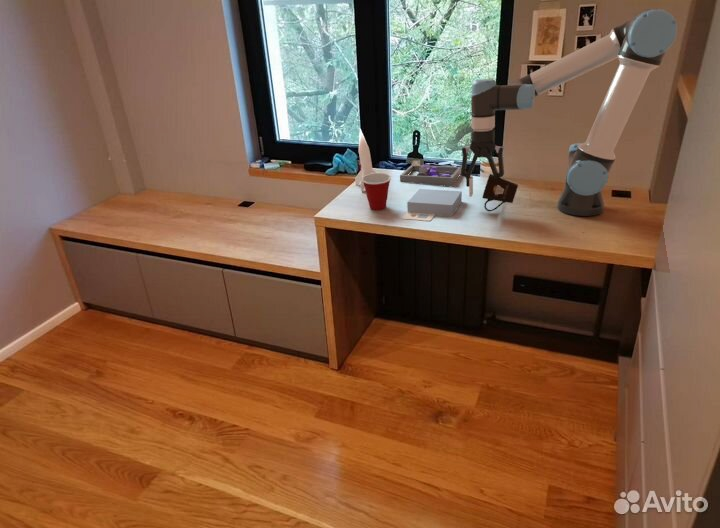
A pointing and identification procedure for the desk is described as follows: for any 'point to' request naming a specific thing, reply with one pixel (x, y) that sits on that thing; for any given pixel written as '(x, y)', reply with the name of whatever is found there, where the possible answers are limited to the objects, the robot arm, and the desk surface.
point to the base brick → (435, 202)
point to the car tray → (432, 179)
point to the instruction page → (418, 216)
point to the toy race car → (431, 171)
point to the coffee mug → (499, 190)
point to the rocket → (364, 161)
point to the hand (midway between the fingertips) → (482, 195)
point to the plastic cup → (377, 189)
